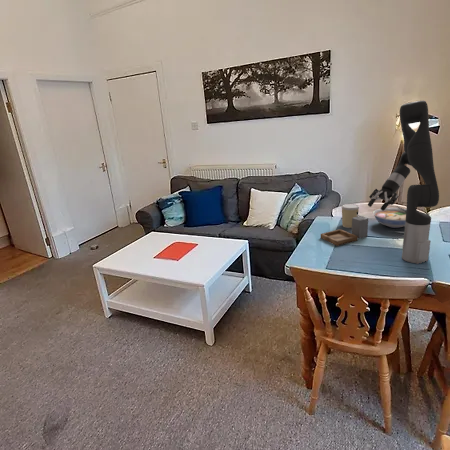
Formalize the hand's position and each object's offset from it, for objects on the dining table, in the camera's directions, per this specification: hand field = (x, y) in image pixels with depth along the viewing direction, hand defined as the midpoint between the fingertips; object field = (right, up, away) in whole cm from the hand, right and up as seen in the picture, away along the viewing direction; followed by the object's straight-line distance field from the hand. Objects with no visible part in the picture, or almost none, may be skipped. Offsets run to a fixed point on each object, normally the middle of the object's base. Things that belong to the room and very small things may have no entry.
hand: (375, 207), depth 169 cm
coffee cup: (-7, -10, +17) cm, 21 cm away
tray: (-20, -17, -1) cm, 26 cm away
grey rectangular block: (-8, -15, +1) cm, 17 cm away
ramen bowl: (+16, -10, +11) cm, 21 cm away
